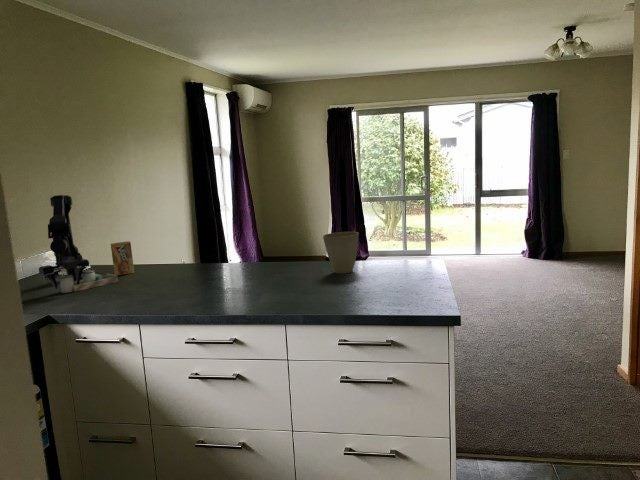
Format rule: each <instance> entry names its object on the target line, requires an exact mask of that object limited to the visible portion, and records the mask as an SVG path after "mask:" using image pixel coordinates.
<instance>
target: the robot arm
mask: <svg viewBox="0 0 640 480" xmlns="http://www.w3.org/2000/svg"><path fill="white" fill-rule="evenodd" d="M49 199H50V206H51V207H52V208H53V209H52V211H53V212H52V216H51V218H49V222H48V224H47V236H48V237H47V238H48V239H52V242H51V243H50V245H49V247H50V248H49V249H50V251H51V252H52V253H53V256H54V258H55V265H54V266H53V265H42V266H39V268H38V274H40V275H42V276H45V277H47V278H48V280H49V281H50V283H51V284H52V286H53V287H54V289H55V290H57V289H58V284H57V280H56V273H55V271H59V270H66V275H72V276H73V280H74V281H75V282H77V284H79V283H80V281H81V279H82V272H83V271H85V269H87V267H90V261H89V260H88V259H85V258H83V255H82V254H81V252H80V251H79V249H78V247H77V246H76V244H74V239H73V232H72V225H71V219H70V212H71V210H72V207H73V198H72V196H69V195H68V194H65V195H64V194H59V195H58V194H57V195H53V196H52V197H50V198H49Z"/></svg>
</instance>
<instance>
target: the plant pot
mask: <svg viewBox="0 0 640 480" xmlns="http://www.w3.org/2000/svg"><path fill="white" fill-rule="evenodd" d="M322 238H323V242H324V243H323V244H324V246H325V250H326V254H327V257H328V259H329V262H330V264H331V267H332V269H333V271H334V273H335V274H341V275H342V274H349V273H352V272H353V271H354V267H355V263H356V259H357V255H358V249H359V248H358V247H359V246H358V245H359V232H357V231H341V232H340V231H339V232H331V233H326V234H323V235H322Z"/></svg>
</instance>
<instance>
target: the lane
mask: <svg viewBox="0 0 640 480" xmlns="http://www.w3.org/2000/svg"><path fill="white" fill-rule="evenodd" d="M118 282H119V277H118V275H115V274H113V273H112V274H111V273H105V275H102V280H98V281H93V282H89V283H84V284H83V279H82V280H80V283H79V284H77V281H74V286H73V288H74V291H73V292H80V291H84V290H89V289H92V288H97V287H98V288H99V287H101V286H102V287H103V286H107V285H111V284H114V283H115V284H116V283H118Z"/></svg>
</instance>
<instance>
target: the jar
mask: <svg viewBox="0 0 640 480" xmlns="http://www.w3.org/2000/svg"><path fill="white" fill-rule="evenodd" d="M74 282H75V280H73V276H72V275H67V274H65V275H60V276H59V285H60V286H59V287H60V292H61V293H62V294H67V293H71V292H74V288H73V286H74Z"/></svg>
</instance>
